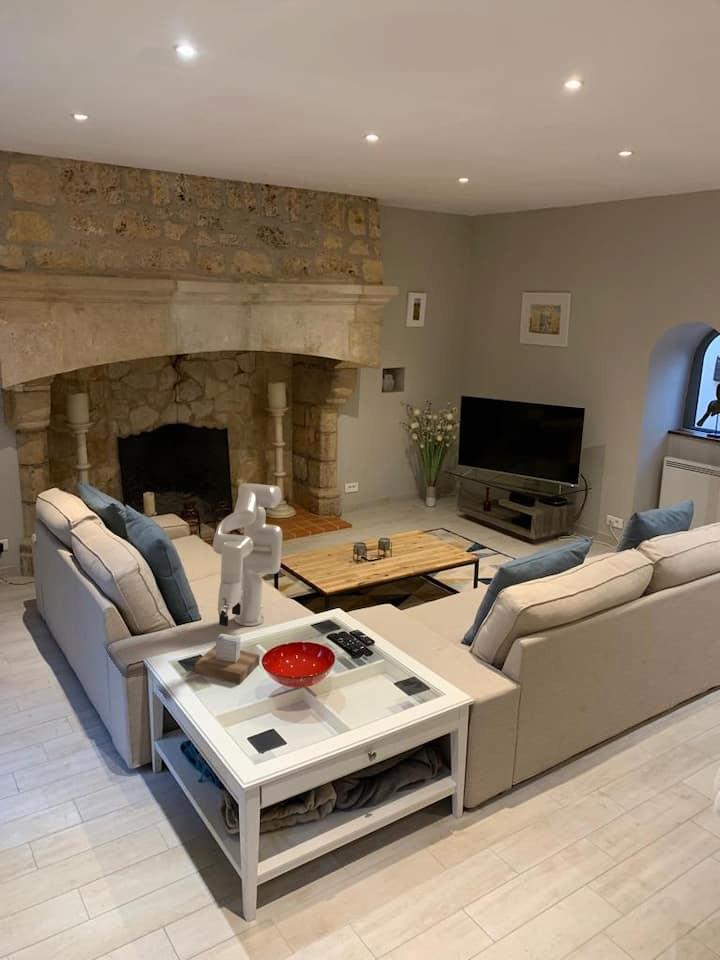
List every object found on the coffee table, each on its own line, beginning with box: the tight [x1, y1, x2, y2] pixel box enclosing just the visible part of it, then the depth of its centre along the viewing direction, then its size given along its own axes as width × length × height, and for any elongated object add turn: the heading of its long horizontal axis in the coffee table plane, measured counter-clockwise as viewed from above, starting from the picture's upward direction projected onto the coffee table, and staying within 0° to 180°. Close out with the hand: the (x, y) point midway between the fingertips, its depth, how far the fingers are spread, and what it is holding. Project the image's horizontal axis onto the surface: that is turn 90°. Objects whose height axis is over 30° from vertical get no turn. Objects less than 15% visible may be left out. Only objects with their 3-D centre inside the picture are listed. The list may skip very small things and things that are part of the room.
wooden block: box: [194, 644, 260, 685], centre depth 266 cm, size 16×18×4 cm
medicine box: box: [215, 633, 241, 663], centre depth 265 cm, size 8×4×9 cm, turn 79°
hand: (229, 619), depth 263 cm, fingers open, 9 cm apart
